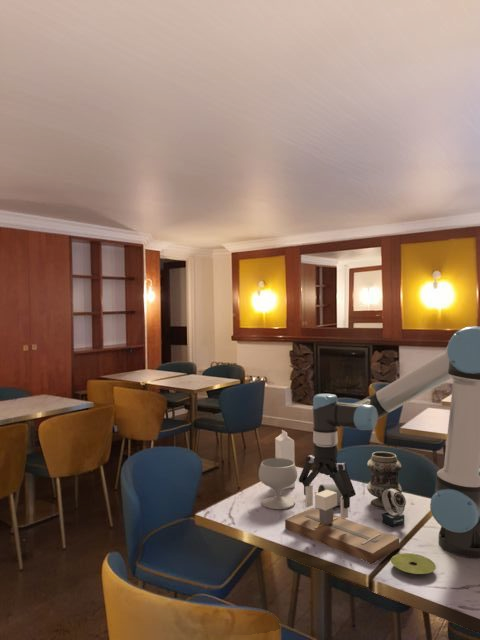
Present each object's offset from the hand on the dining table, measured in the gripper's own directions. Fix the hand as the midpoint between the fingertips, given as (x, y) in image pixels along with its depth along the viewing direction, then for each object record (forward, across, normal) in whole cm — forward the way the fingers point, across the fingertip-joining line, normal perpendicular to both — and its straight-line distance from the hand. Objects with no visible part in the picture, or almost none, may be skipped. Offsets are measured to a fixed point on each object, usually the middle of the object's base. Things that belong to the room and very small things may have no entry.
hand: (326, 511), depth 155 cm
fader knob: (+3, 0, 0) cm, 3 cm away
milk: (+7, +38, -23) cm, 45 cm away
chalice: (+7, +27, -7) cm, 29 cm away
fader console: (+6, -5, 0) cm, 8 cm away
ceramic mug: (+7, +14, -20) cm, 26 cm away
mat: (+7, -30, +2) cm, 31 cm away
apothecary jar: (+7, 0, -34) cm, 35 cm away
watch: (+7, -11, -21) cm, 25 cm away
